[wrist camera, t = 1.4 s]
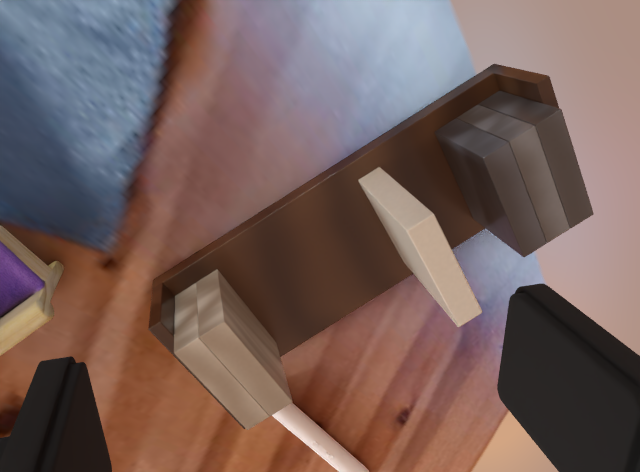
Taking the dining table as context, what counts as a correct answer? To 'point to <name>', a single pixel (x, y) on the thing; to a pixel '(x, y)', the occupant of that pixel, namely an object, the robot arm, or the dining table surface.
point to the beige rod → (318, 439)
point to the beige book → (421, 245)
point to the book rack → (367, 234)
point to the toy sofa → (23, 290)
